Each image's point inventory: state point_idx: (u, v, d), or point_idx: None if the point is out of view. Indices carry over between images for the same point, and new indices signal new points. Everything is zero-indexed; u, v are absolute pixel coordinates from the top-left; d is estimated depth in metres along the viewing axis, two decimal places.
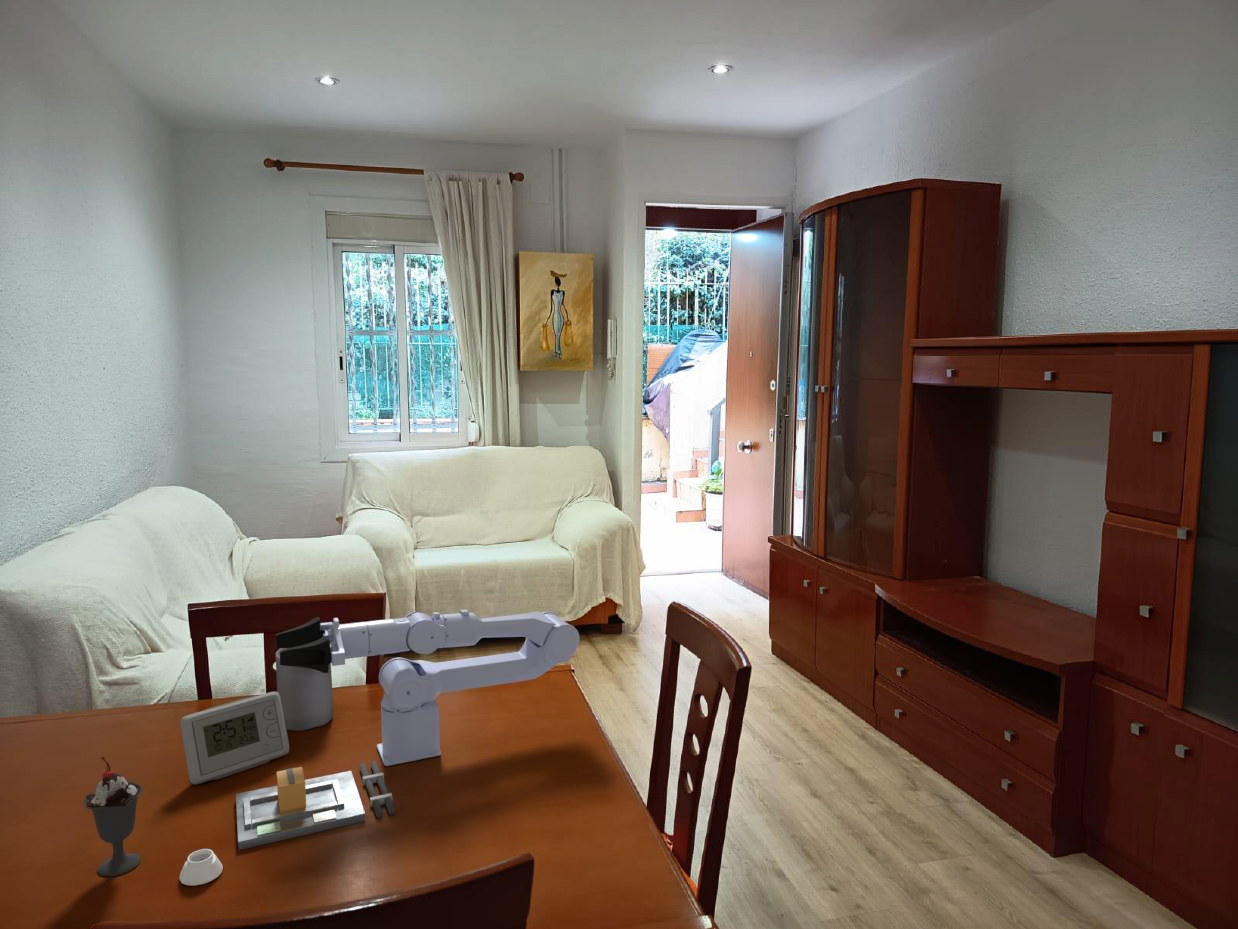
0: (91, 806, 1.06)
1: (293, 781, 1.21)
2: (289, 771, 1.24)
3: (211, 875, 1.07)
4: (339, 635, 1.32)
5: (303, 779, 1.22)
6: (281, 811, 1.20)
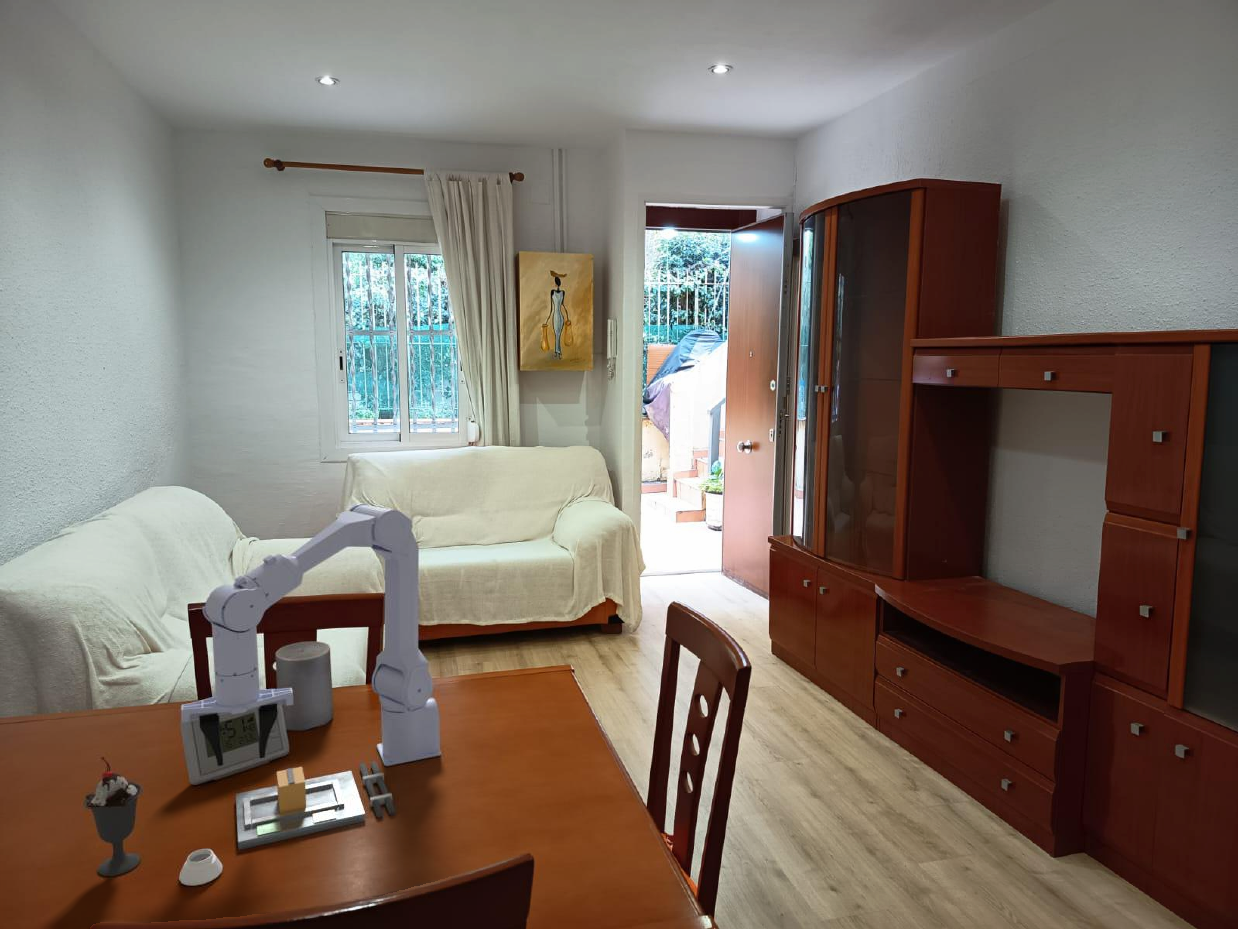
0: (91, 806, 1.06)
1: (293, 781, 1.21)
2: (289, 771, 1.24)
3: (211, 875, 1.07)
4: (260, 702, 1.17)
5: (303, 779, 1.22)
6: (281, 811, 1.20)
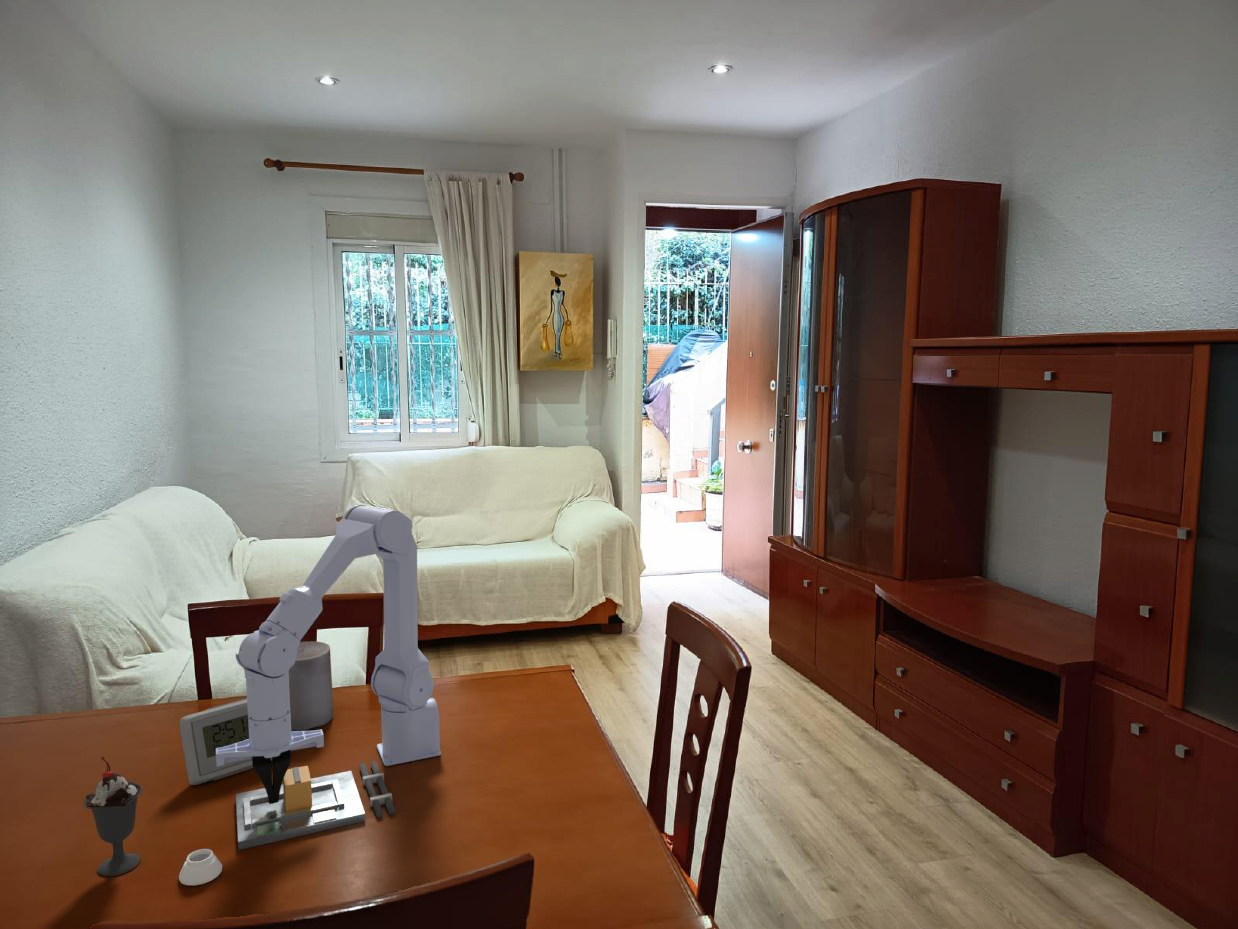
0: (91, 806, 1.06)
1: (299, 780, 1.21)
2: (295, 770, 1.24)
3: (210, 875, 1.07)
4: (292, 745, 1.20)
5: (309, 778, 1.22)
6: (287, 810, 1.21)
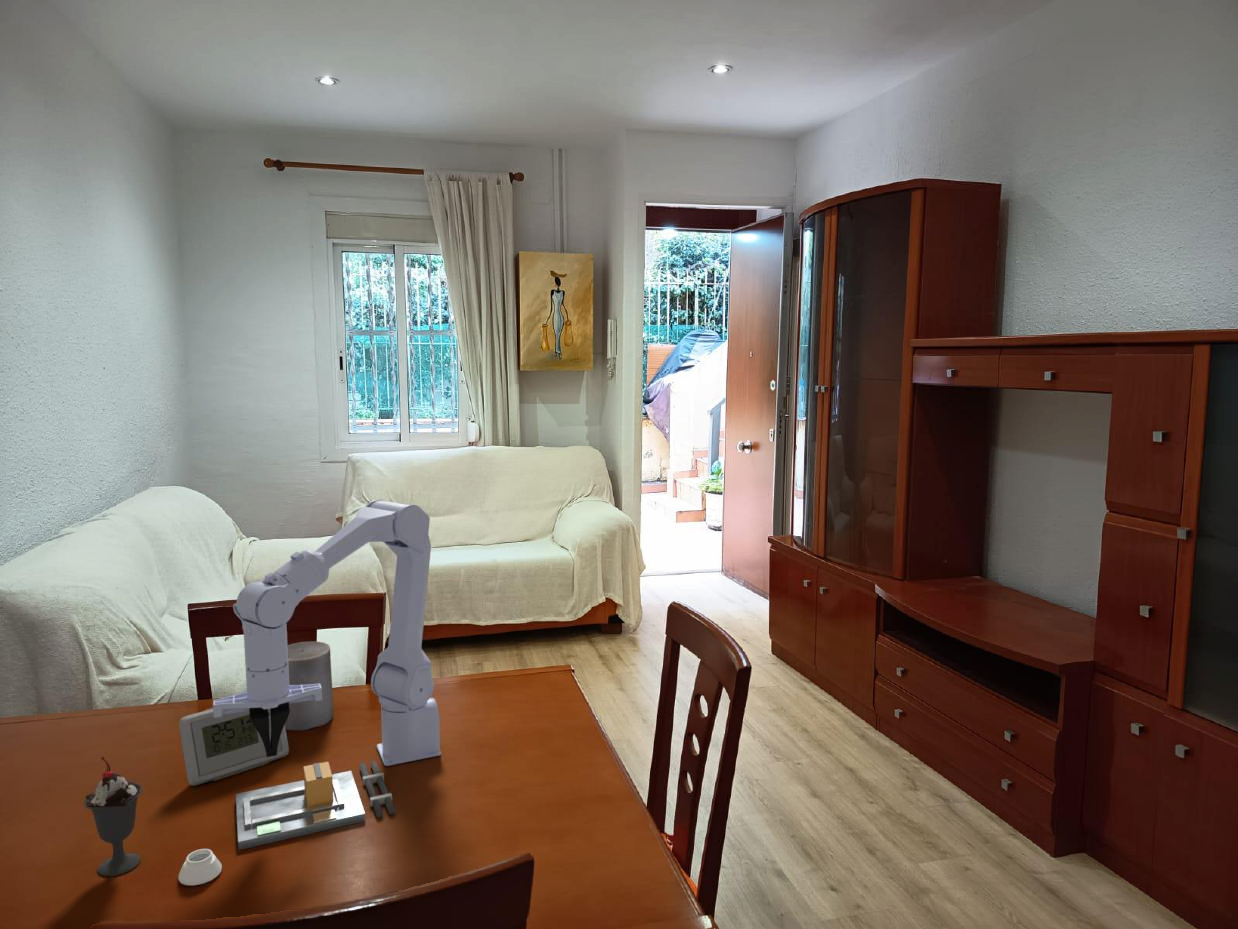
0: (91, 806, 1.06)
1: (320, 775, 1.23)
2: (316, 766, 1.25)
3: (210, 875, 1.07)
4: (290, 697, 1.19)
5: (330, 774, 1.24)
6: (309, 805, 1.22)
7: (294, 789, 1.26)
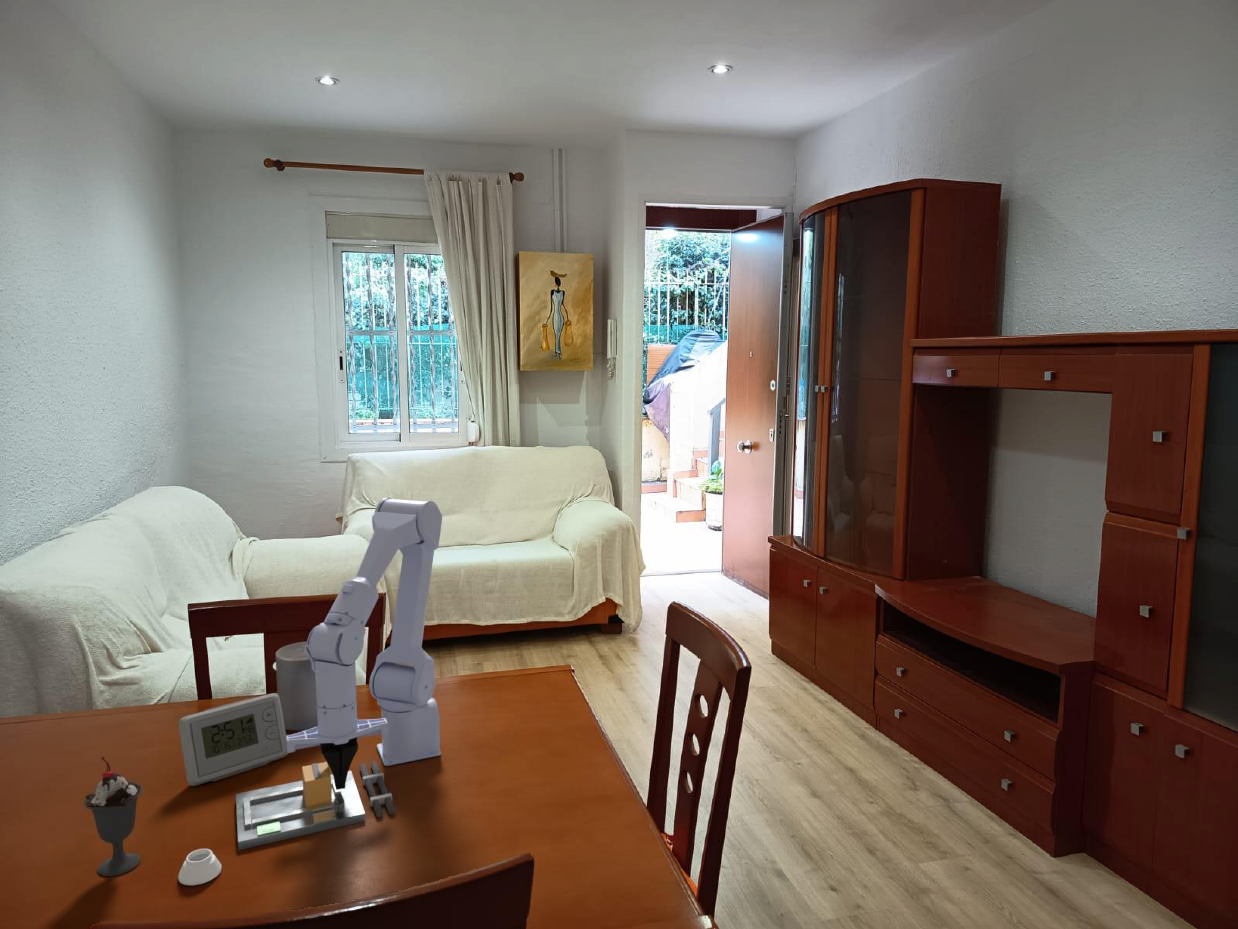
0: (91, 806, 1.06)
1: (319, 776, 1.23)
2: (314, 766, 1.25)
3: (210, 875, 1.07)
4: (359, 732, 1.24)
5: (329, 774, 1.23)
6: (307, 805, 1.22)
7: (294, 789, 1.26)
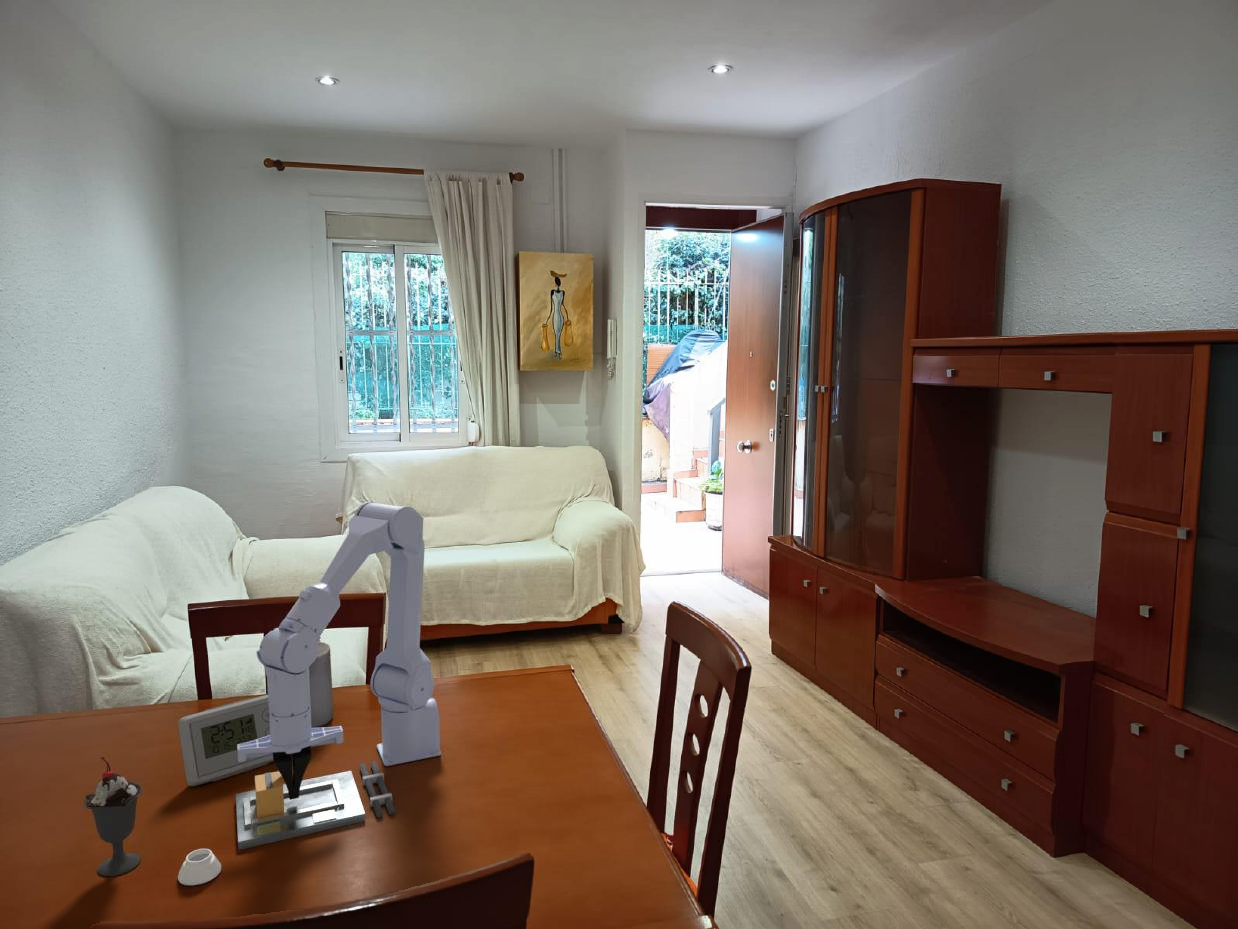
0: (91, 806, 1.06)
1: (271, 785, 1.20)
2: (267, 775, 1.22)
3: (209, 875, 1.07)
4: (313, 741, 1.21)
5: (281, 783, 1.21)
6: (258, 816, 1.19)
7: None
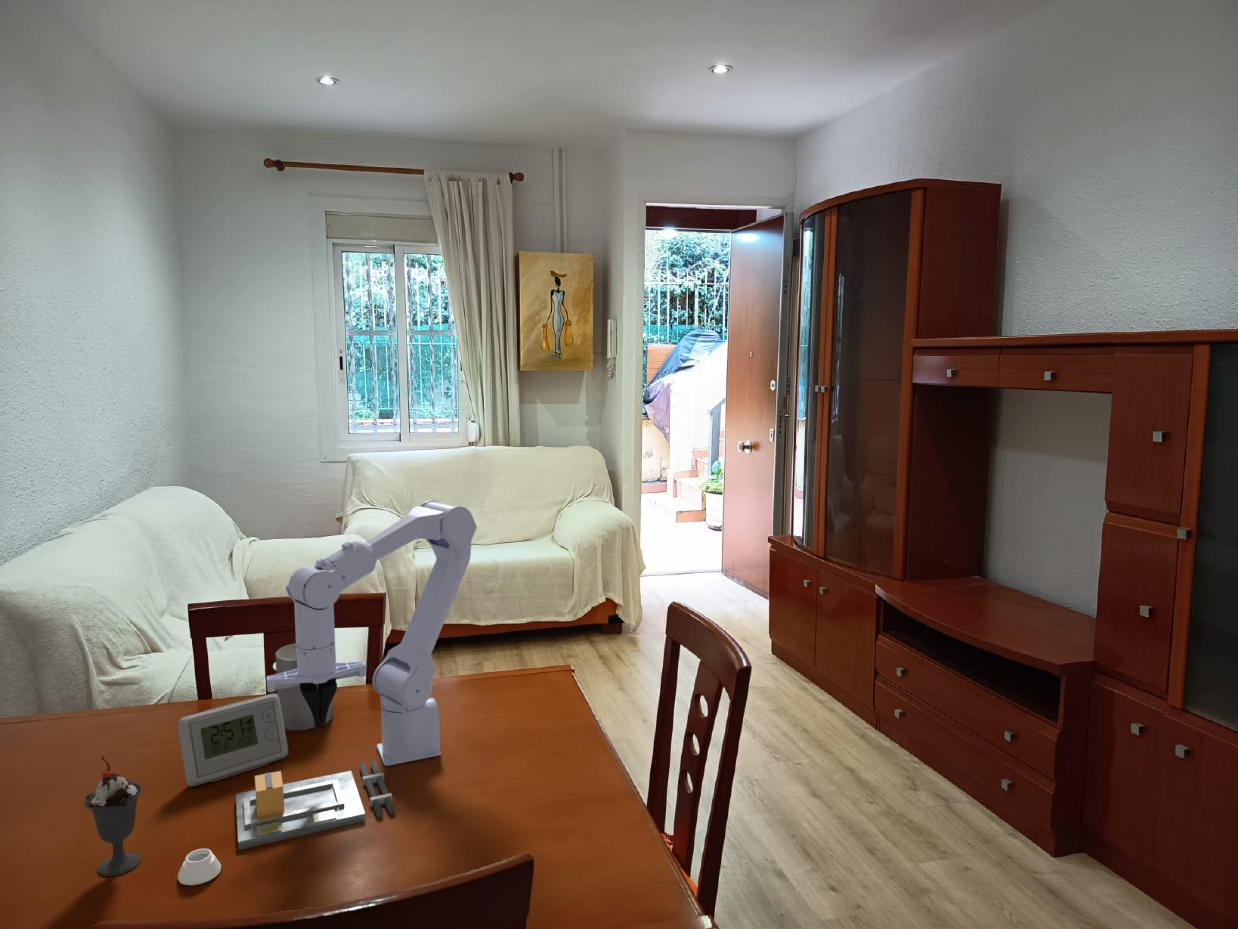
0: (91, 806, 1.06)
1: (271, 785, 1.20)
2: (267, 775, 1.22)
3: (209, 875, 1.07)
4: (338, 673, 1.28)
5: (281, 783, 1.21)
6: (258, 816, 1.19)
7: (294, 789, 1.26)
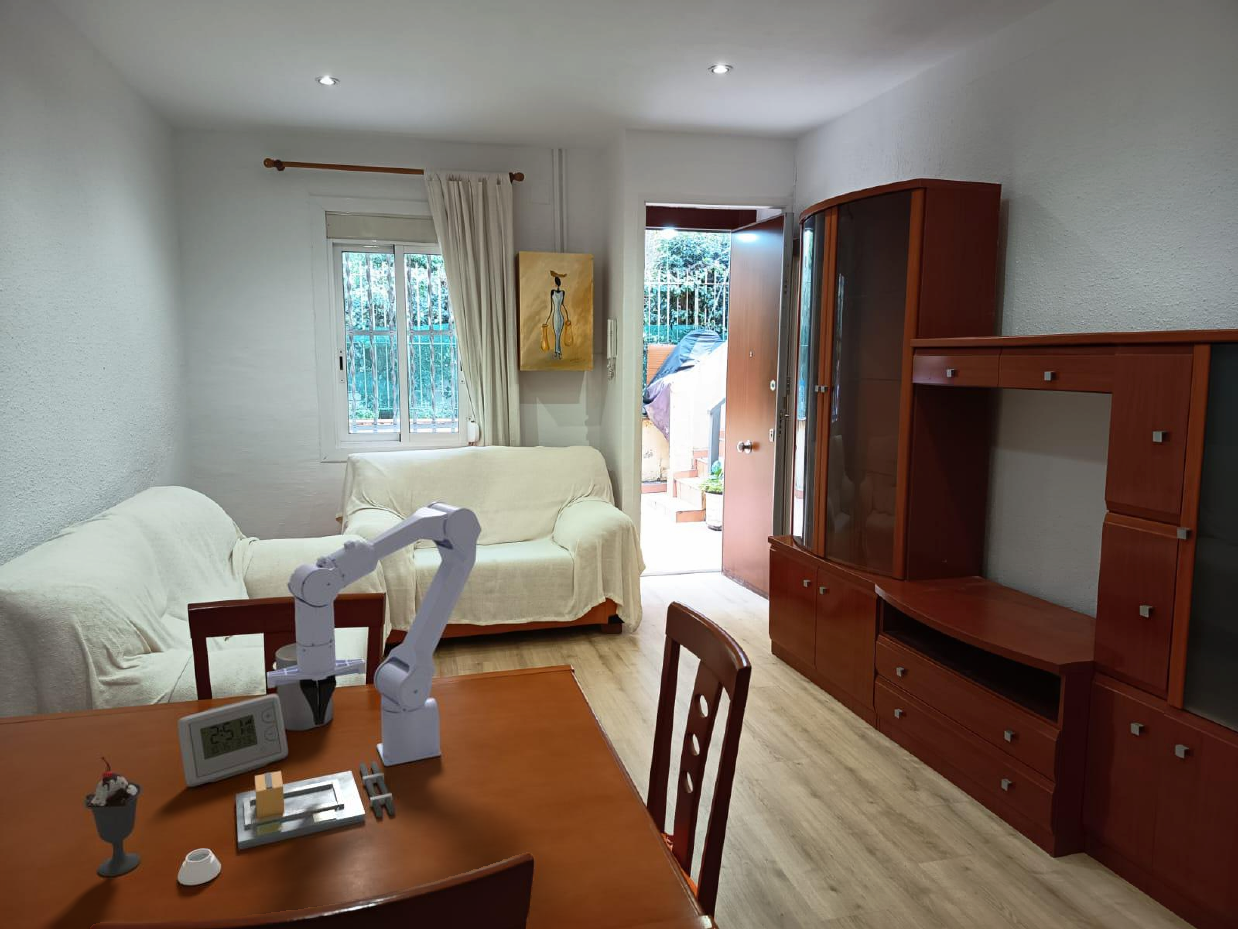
0: (91, 806, 1.06)
1: (271, 785, 1.20)
2: (267, 775, 1.22)
3: (209, 875, 1.07)
4: (337, 670, 1.30)
5: (281, 783, 1.21)
6: (258, 816, 1.19)
7: (294, 789, 1.26)
